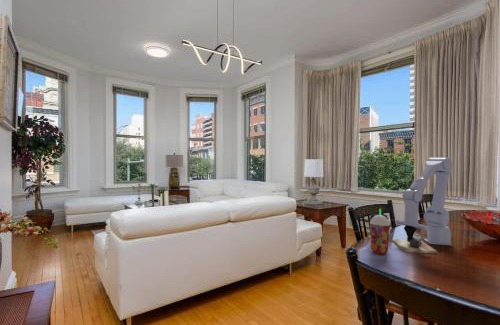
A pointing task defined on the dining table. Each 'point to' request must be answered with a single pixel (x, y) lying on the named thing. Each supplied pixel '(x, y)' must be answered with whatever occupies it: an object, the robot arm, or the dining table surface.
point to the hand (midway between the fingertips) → (410, 241)
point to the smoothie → (379, 234)
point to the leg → (415, 240)
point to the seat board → (406, 247)
